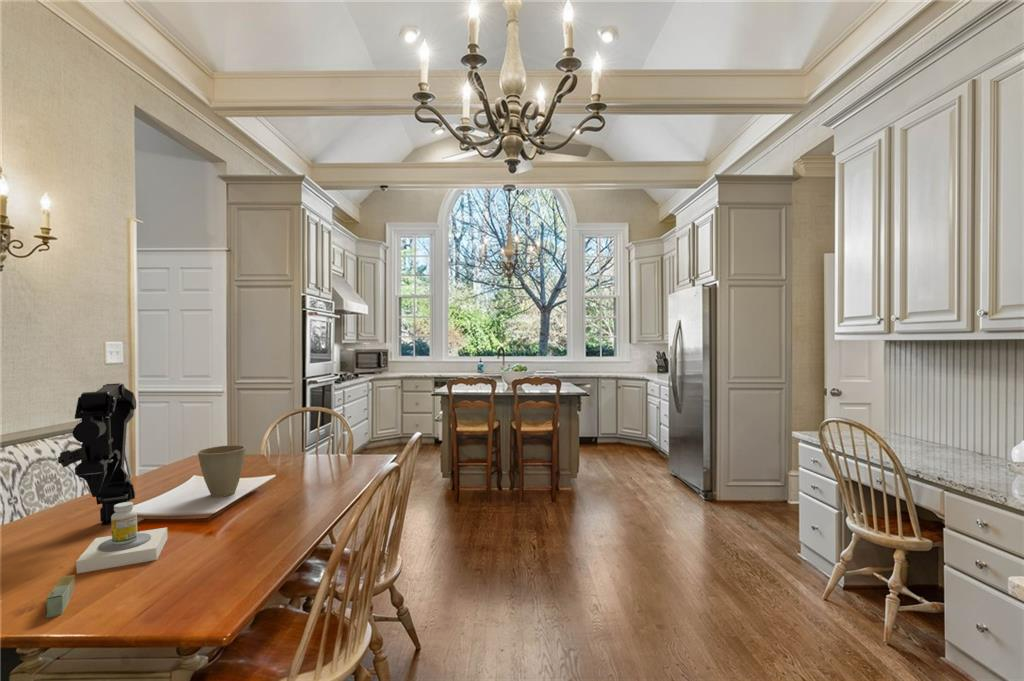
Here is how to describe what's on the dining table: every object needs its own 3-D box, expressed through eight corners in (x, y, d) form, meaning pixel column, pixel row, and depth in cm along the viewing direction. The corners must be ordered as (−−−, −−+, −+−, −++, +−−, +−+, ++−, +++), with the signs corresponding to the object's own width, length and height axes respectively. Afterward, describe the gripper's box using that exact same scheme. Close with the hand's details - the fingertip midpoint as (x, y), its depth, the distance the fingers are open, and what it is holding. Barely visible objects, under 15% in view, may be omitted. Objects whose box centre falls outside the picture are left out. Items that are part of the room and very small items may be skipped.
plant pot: (254, 492, 189) (253, 447, 189) (210, 503, 178) (209, 456, 177) (235, 485, 199) (233, 442, 198) (191, 495, 187) (190, 450, 187)
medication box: (62, 615, 107) (62, 595, 107) (45, 619, 106) (44, 599, 106) (75, 591, 118) (74, 573, 118) (59, 594, 116) (59, 576, 116)
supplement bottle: (134, 543, 135) (133, 505, 135) (109, 546, 133) (107, 508, 133) (140, 535, 140) (138, 499, 140) (115, 539, 138) (114, 502, 138)
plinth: (167, 538, 147) (167, 525, 147) (156, 559, 133) (156, 546, 133) (96, 549, 141) (95, 536, 141) (76, 573, 126) (76, 559, 126)
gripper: (72, 434, 153) (74, 488, 153) (48, 446, 136) (51, 506, 136) (119, 430, 158) (121, 482, 158) (102, 441, 141) (104, 499, 141)
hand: (100, 492), depth 148 cm, fingers open, 9 cm apart
